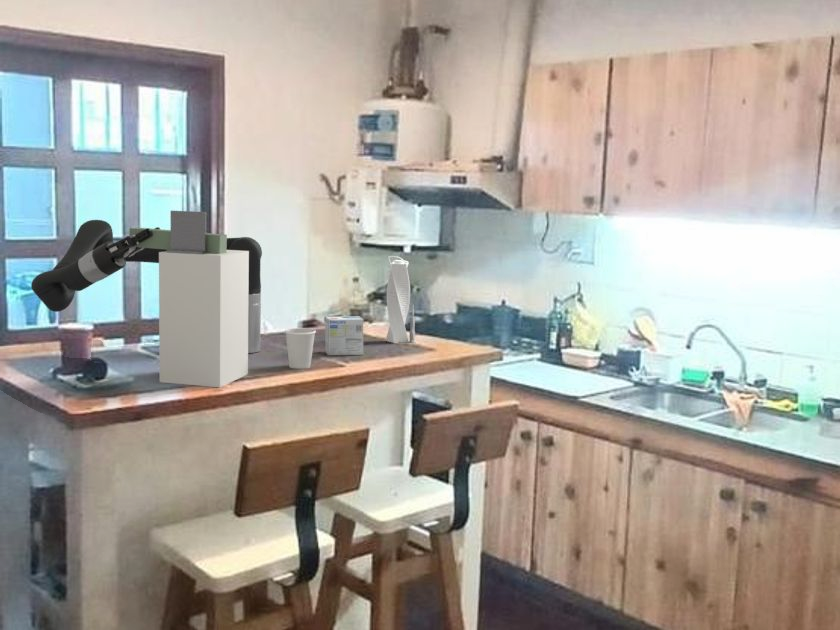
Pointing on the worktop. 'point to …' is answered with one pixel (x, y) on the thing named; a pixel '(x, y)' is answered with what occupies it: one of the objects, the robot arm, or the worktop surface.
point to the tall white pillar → (203, 317)
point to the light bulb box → (344, 335)
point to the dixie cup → (300, 347)
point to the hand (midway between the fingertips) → (155, 231)
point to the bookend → (188, 232)
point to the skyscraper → (399, 303)
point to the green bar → (163, 240)
